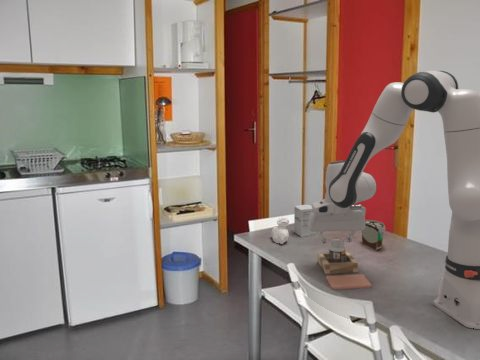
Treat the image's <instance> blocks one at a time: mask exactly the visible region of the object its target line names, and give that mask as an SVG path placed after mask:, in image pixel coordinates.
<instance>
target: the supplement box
mask: <svg viewBox="0 0 480 360" xmlns="http://www.w3.org/2000/svg"><path fill="white" fill-rule="evenodd" d="M293 209H294V213H293V214H294V223H293V224H294V227H293V228H294V229H293V231H294V233H295V234H297V236H300V238H305V237H306V236H307V237H313V236H316V233H317V232H311V231H310V229H309V228H308V222H309V215H310V212H311V211H312V210H313V209H312V205H311V204H300V205H294V207H293Z"/></svg>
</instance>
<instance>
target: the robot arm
mask: <svg viewBox="0 0 480 360" xmlns="http://www.w3.org/2000/svg"><path fill="white" fill-rule="evenodd" d="M414 110H416V111H419V112H420V111H421V112H422V111H423V112H429V113H433V114H434V113H438V114H440V117H441V120H442V125H443V126H442V127H443V135H444V143H445V152H446V163H447V165H446V169H447V174H446V175H447V176H446V177H447V191H448V204H449V207H450V210H451V216H450V217H451V218H450V224H449V225H450V226H449V230H448V244H447V245H448V246H447V255H446V257H445V260H444V268H445V272H443V273H444V274H443V275H442V276H441V277H440V281H439V286H438V287H439V288H438V293H437V298H435V299H434V300H433V306H435V307H436V308H438V309H439V310H441V311H442V312H443V313H445V314H446V315H448V316H449V317H451V318H452V319H454V320H456V321H457V322H458V323H460V324H461V325H463V326H464V327H466V328H468V329H473V328H474V330H480V94H479V92H477V91H476V90H473V89H471V88H460V89H459V83H458V80H457V79H456V77H455V76H454V75H452V74H451V73H450V72H448V71H444V70H434V69H433V70H423V71H418V72H415V73H413V74H412V75H410V76H409V77H408V78H407V79H406V80H405V81H404V82H402V81H401V82H400V81H398V82H396V81H395V82H391V83H388V84H387V85H386V86H385V88H383V91H382V92H381V94H380V96H378V99H377V101H376V103H375V104H374V107H373V109H372V111H371V114H370V116H369V118H368V121H367V122H366V124H365V126H364V128H363V130H362V131H361V133H360V135H359V136H358V137H357V139H356V141H355V142H354V144H353V146H352V147H351V149H350V152H349V153H348V155H347V157H346V159H345V160H335V161H331V162H330V163H329V164H328V165H327V167H326V172H325V181H324V182H325V184H324V185H325V190H326V191H325V195H324V198H323V199H321V200H318V201H315V202H313V203H311V206H312V209H313V210H312V211H311V212H310V215H309V222H308V228H309V229H310V231H311V232H316V233H318V235H319V237H320V243H321V244H326V243H327V238H326V237H325V236H323V235H324V232H325V233H326V232H347V231H349V232H350V233H349V235H348V236H347V235H346V237H345V238H346V239H345V240H346V242H347V243H352V241H353V238H354V235H355V234H356V231H362V230H364V228H365V220H366V218H365V217H366V212H367V209H366V207H365V206H364V205H362V204H358V203H361V202H364V201H367V200H369V199H372V198H373V197H374V196H375V195H376V193H377V190H378V189H377V188H378V184H377V181H376V179H375V178H374V176H373V175H372V174H370V173H368V172H364V170H365V168H366V166H367V164H368V163H369V161H370V160H371V159H372V158H373V157H374V156H375V155H376V154H378V153H379V152H381V151H382V150H384V149H386V148H389V147H391V145H393V144H395V143H396V142H397V141H398V140H399V138H400V137H401V136H402V134H403V132H404V130H405V128H406V126H407V124H408V121H409V119H410V117H411V115H412V114H413V112H414Z"/></svg>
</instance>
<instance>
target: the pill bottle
mask: <svg viewBox="0 0 480 360" xmlns="http://www.w3.org/2000/svg"><path fill="white" fill-rule="evenodd" d="M330 245H331V246H330V247H329V249H328V250H329V252H328V253H329V263H334V262H345V252H346V247H345V246H344V245H345V240H343V239H338V238H337V239H335V238H334V239H331V240H330Z"/></svg>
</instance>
